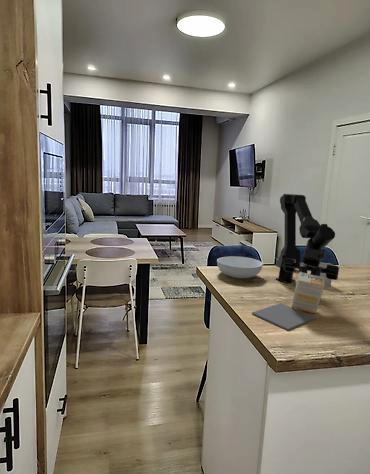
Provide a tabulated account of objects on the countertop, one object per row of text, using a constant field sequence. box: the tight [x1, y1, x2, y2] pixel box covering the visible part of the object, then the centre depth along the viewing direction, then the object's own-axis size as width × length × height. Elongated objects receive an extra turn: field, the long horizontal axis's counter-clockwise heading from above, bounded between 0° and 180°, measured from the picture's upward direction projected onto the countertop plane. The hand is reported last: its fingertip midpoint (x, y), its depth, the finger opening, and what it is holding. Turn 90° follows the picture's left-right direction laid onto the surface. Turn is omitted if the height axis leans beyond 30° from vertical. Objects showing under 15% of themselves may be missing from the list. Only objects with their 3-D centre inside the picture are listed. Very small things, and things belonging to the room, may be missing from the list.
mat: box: [251, 303, 317, 331], centre depth 110 cm, size 16×14×1 cm
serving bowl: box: [216, 256, 264, 279], centre depth 154 cm, size 21×21×7 cm
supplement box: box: [291, 272, 325, 314], centre depth 113 cm, size 8×5×13 cm, turn 71°
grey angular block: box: [319, 262, 334, 288], centre depth 147 cm, size 4×7×10 cm, turn 76°
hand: (306, 288), depth 116 cm, fingers closed
